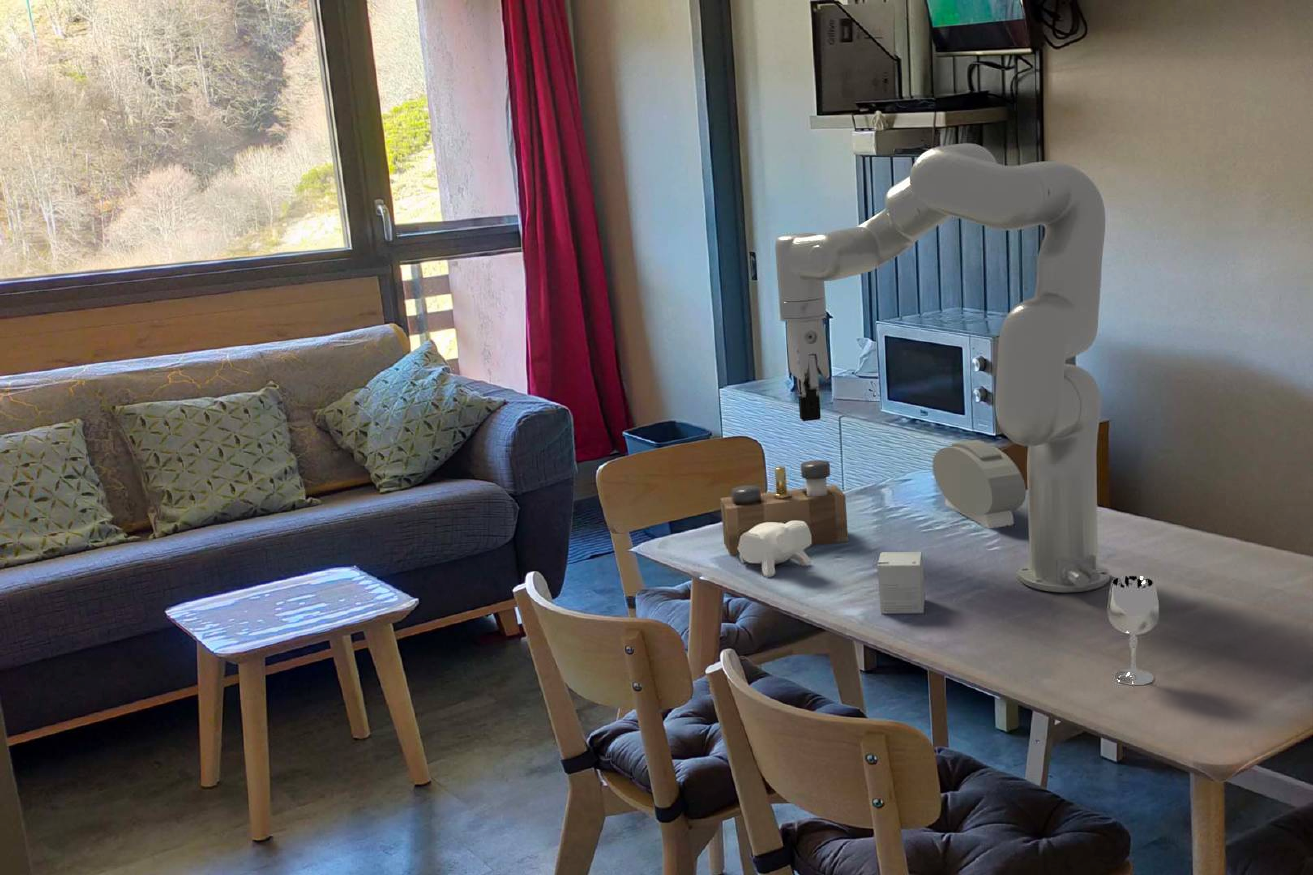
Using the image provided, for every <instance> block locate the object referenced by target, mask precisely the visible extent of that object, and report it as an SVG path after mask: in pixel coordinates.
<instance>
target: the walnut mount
mask: <svg viewBox="0 0 1313 875" xmlns="http://www.w3.org/2000/svg"><path fill="white" fill-rule="evenodd" d="M787 491H789V492H791V497H790V498H786V499H775V498H773V493H774V492H775V491H771V492H763V493H762V492H761V501H760V502H758V503H754V504H748V505H737V504H734V503H733V502H732V496H728V497H727V496H726V497H721V498H720V501H719V502H720V508H721V509H720V510H721V512H720V513H721V524H722V535H723V544H724V545H725V547H726V550H727V551H728V554H729V556H734V555H740V552H739V551H738V549H737V547H738V545H739V541H740V537H741V536H742V535H743V534H744V533H746V532H748V531H749V530H751V529H752V528H754V527H755V526H757V525H759V524H762V523H766V522H776V523H783V524H786V523H787V522H790V521H803V522H805V523H806V524H807V526H808V527H809V530H810V533H811V540H812V543H811V545H810V546H818V545H827V544H836V543H842V542H843V543H845V542H849V532H848V518H847V517H848V516H847V515H848V514H847V501H846V494H845V493H844V492H843V491H842V490H841V489H840V488H839V487H838V486H837V485H836V484H832V485H827V495H824V496H815V497H807V487H806V488H798V489H789V490H788V489H787ZM810 546H809V547H810Z"/></svg>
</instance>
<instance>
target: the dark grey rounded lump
mask: <svg viewBox="0 0 1313 875" xmlns="http://www.w3.org/2000/svg"><path fill="white" fill-rule="evenodd" d="M761 493H762V492H761V487H760V486H759V485H758V486H757V485H739V486H736V487H733V488H732V489H731V497H732V502H733V503H734V504H737V505H748V504H754V503H758V502H760V501H761Z"/></svg>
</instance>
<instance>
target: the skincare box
mask: <svg viewBox="0 0 1313 875" xmlns="http://www.w3.org/2000/svg"><path fill="white" fill-rule="evenodd" d="M923 560H924V559H923V551H905V552H904V551H903V552H902V551H901V552H900V551H898V552H897V551H896V552H895V551H894V552H893V551H892V552H891V551H890V552H889V551H888V552H887V551H885V552H880V555H879V558H878V562H877V565H876V568H877V571H876V572H877V581H878V582H877V583H878V592H879V593H878V594H879V605H880V606H879V607H880V614H881V615H887V614H888V615H890V614H891V615H892V614H894V615H896V614H899V615H900V614H924V612H925V611H924V609H925V603H926V602H925V601H926V600H925V599H926V594H925V593H926V592H925V591H926V590H925V581H924V580H925V579H924V562H923Z"/></svg>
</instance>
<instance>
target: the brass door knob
mask: <svg viewBox="0 0 1313 875" xmlns="http://www.w3.org/2000/svg"><path fill="white" fill-rule="evenodd" d="M774 478H775V481H774V482H775V491H773V492H774V493H773V498H775V499H786V498H790V497H791V492H789V491H787V490H788V487H787V486H788V485H787V473H786V467H785V466H776V467H774Z"/></svg>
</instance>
